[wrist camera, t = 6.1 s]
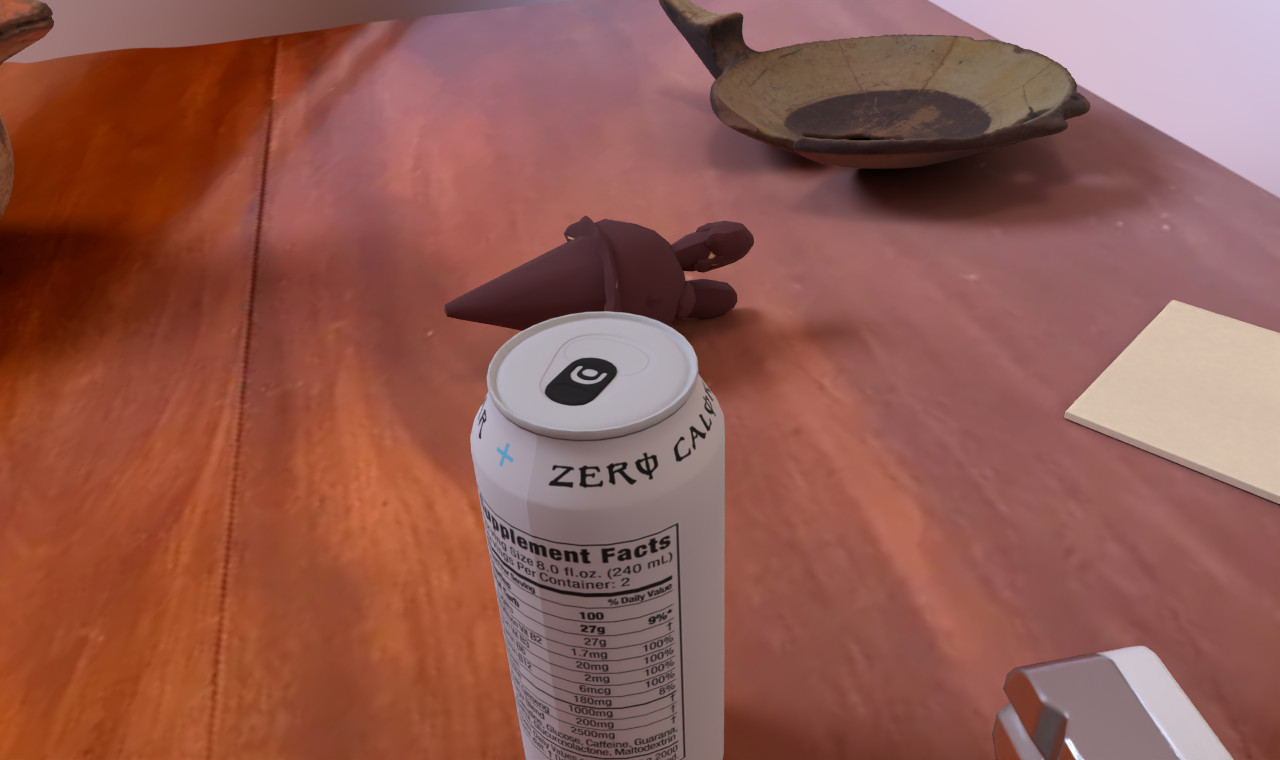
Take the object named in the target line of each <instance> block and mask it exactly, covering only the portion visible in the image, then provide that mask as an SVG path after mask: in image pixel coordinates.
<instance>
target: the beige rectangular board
mask: <svg viewBox="0 0 1280 760" xmlns="http://www.w3.org/2000/svg"><path fill="white" fill-rule="evenodd" d="M1064 418H1066V419H1068V420H1071V421H1073V422H1076V423H1078V424H1081V425H1083V426H1086V427H1088V428H1091V429H1093V430H1095V431H1098V432H1100V433H1103V434H1105V435H1108V436H1110V437H1113V438H1115V439H1118V440H1120V441H1123V442H1125V443H1128V444H1130V445H1133V446H1135V447H1138V448H1140V449H1143V450H1145V451H1148V452H1150V453H1153V454H1155V455H1158V456H1160V457H1163V458H1165V459H1168V460H1170V461H1173V462H1175V463H1178V464H1180V465H1183V466H1185V467H1188V468H1190V469H1193V470H1195V471H1198V472H1200V473H1203V474H1205V475H1208V476H1210V477H1213V478H1215V479H1218V480H1220V481H1223V482H1225V483H1228V484H1230V485H1233V486H1235V487H1238V488H1240V489H1243V490H1245V491H1248V492H1250V493H1253V494H1255V495H1258V496H1260V497H1263V498H1265V499H1268V500H1270V501H1273V502H1275V503H1278V504H1280V333H1277V332H1274V331H1270V330H1267V329H1264V328H1261V327H1258V326H1255V325H1251V324H1248V323H1245V322H1242V321H1239V320H1235V319H1232V318H1229V317H1226V316H1223V315H1220V314H1216V313H1213V312H1210V311H1207V310H1204V309H1200V308H1197V307H1194V306H1191V305H1188V304H1184V303H1181V302H1178V301H1175V300H1172V301H1171V302H1170V303H1169V304H1168V305H1167V306H1166V307H1165V308H1164V309H1163V310H1162V311H1161V312H1160V313H1159V314H1158V315H1157V317H1156V318H1155V319H1154V320H1153V321H1152V322H1151V323H1150V324H1149V325H1148V326H1147V327H1146V328H1145V329H1144V330H1143V331H1142V332H1141V333H1140V334H1139V335H1138V336H1137V337H1136V338H1135V340H1134V341H1133V342H1132V343H1131V344H1130V345H1129V346H1128V347H1127V348H1126V349H1125V350H1124V351H1123V352H1122V353H1121V354H1120V355H1119V356H1118V357H1117V358H1116V359H1115V360H1114V361H1113V362H1112V364H1111V365H1110V366H1109V367H1108V368H1107V369H1106V370H1105V371H1104V372H1103V373H1102V374H1101V375H1100V376H1099V377H1098V378H1097V379H1096V380H1095V381H1094V382H1093V383H1092V384H1091V385H1090V387H1089V388H1088V389H1087V390H1086V391H1085V392H1084V393H1083V394H1082V395H1081V396H1080V397H1079V398H1078V399H1077V400H1076V401H1075V402H1074V403H1073V404H1072V405H1071V406H1070V407H1069V408H1068V409H1067V411H1066V412H1065V417H1064Z"/></svg>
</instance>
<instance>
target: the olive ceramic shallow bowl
mask: <svg viewBox="0 0 1280 760" xmlns="http://www.w3.org/2000/svg"><path fill="white" fill-rule="evenodd" d="M659 2H660V5H661V6H662V8H663V10H664V11H665V13H666V14H667V16H668V17H669V19H670V20H671V21H672V23H673V24H674V25H675V26H676V27H677V29H678V30H679V31H680V33H681V34H682V35H683V36H684V38H685V39H686V40H687V41H688V43H689V44H690V46H691V47H692V48H693V50H694V51H695V53H696V54H697V55H698V57H699V58H700V59H701V60H702V62H703V63H704V65H705V66H706V67H707V69H708V70H709V72H710V73H711V74H712V75H713V77H714V78H715V79H716V81H714V83H713V85H712V87H711V91H710V101H711V106H712V109H713V111H714V113H715V114H716V116H717V117H718V118H719V119H720V120H721V121H722V122H723V123H724V124H726V125H727V126H729V127H731V128H733V129H735V130H736V131H738V132H740V133H742V134H745V135H747V136H748V137H751V138H753V139H756V140H758V141H761V142H764V143H766V144H769V145H771V146H774V147H777V148H781V149H784V150H786V151H791V152H795V153H798V154H799V155H801V156H803V157H805V158H808V159H810V160H813V161H817V162H820V163H824V164H830V165H838V166H846V167H856V168H873V169H889V168H911V167H920V166H926V165H931V164H936V163H941V162H945V161H950V160H954V159H958V158H962V157H966V156H970V155H974V154H978V153H982V152H985V151H989V150H993V149H996V148H999V147H1003V146H1007V145H1010V144H1014V143H1017V142H1021V141H1024V140H1028V139H1032V138H1036V137H1041V136H1047V135H1052V134H1056V133H1059V132H1062V131H1064V130H1066V129H1067V127H1068V124H1067V122H1066V121H1065V120H1066V119H1069V118H1072V117H1076V116H1080V115H1083V114H1085V113H1087V112H1088V111H1089V109H1090V103H1089V101H1088V100H1087V99H1086V98H1084V96H1082V95H1081V94H1080V93H1077V92H1076V88H1077V85H1076V82H1075V80H1074V79H1073V77H1072V76H1071V74H1070V73H1069V72H1068V70H1067V69H1066V68H1064V67H1063V66H1062V65H1060V64H1059V63H1057V62H1055V61H1053V60H1052V59H1050V58H1048V57H1046V56H1044V55H1042V54H1039V53H1038V52H1034V51H1032V50H1027V49H1023V48H1021V47H1019V46H1017V45H1014V44H1010V43H1005V42H1002V41H1001V42H1000V41H998V40H990V39H989V40H974V39H972V38H971V37H959V36H944V35H942V36H940V35H938V36H937V35H936V36H935V35H906V34H905V35H883V36H879V37H876V36H871V37H859V38H851V39H838V40H835V39H834V40H830V41H818V42H811V43H808V42H807V43H803V44H795V45H792V46H787V47H782V48H777V49H774V50H770V51H765V52H757V51H754V50H752V49H750V48H749V47H748V46H747V45H746V44H745V42H744V40H743V35H742V23H743V15H742V14H741V13H738V12H734V13H728V14H715V13H711V12H708V11H706V10H704V9H702V8H701V7H698V6H696V5H694V4H693V3H691V2H690V1H688V0H659ZM858 137H859V138H871V139H877V140H870V141H859V140H858V141H856V140H846V139H848V138H854V139H855V138H858Z"/></svg>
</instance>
